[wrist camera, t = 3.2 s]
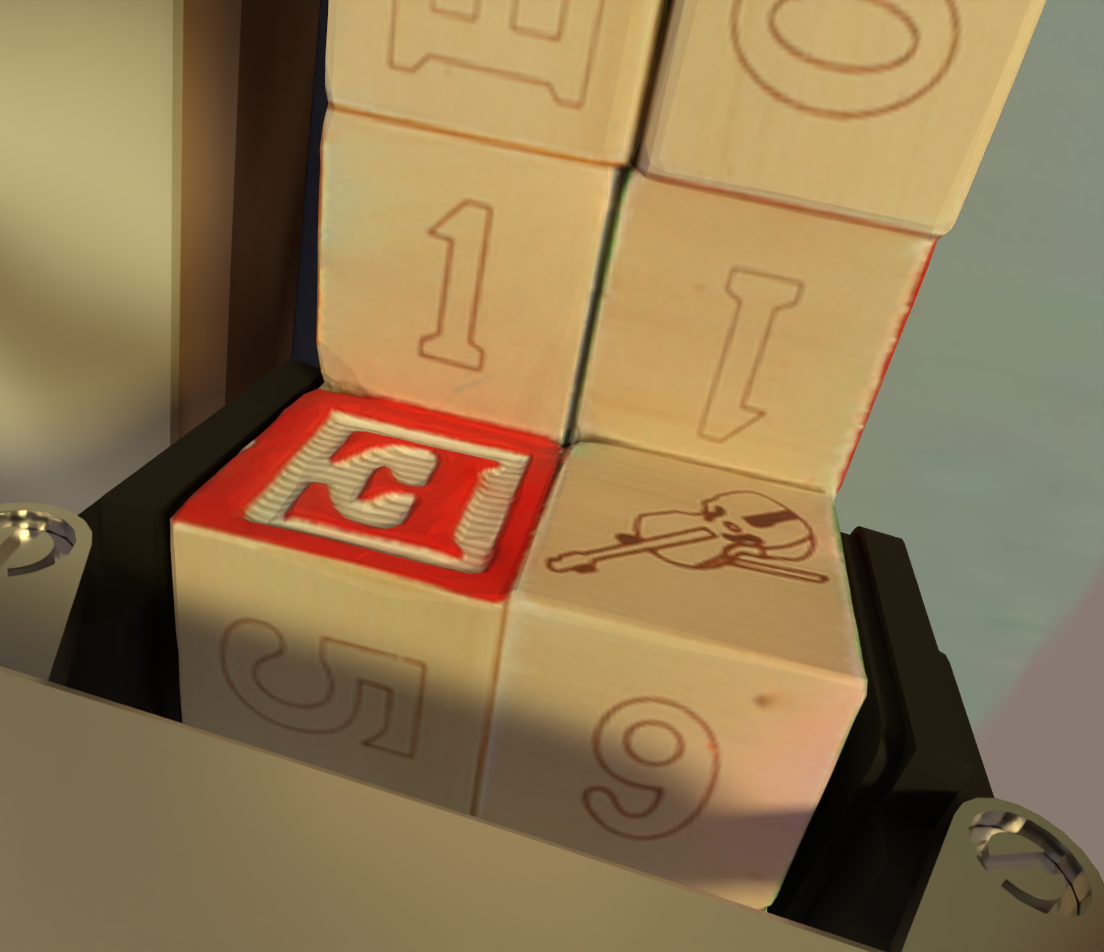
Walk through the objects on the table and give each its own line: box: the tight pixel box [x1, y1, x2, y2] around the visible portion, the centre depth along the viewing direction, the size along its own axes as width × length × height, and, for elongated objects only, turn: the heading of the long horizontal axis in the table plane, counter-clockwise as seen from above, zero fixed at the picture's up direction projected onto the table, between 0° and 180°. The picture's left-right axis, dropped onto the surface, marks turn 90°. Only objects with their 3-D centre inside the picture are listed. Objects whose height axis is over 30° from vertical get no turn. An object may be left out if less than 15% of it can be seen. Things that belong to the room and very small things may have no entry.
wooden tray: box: [0, 0, 320, 515], centre depth 18 cm, size 27×9×3 cm, turn 167°
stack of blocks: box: [170, 0, 1046, 912], centre depth 13 cm, size 21×6×12 cm, turn 169°
